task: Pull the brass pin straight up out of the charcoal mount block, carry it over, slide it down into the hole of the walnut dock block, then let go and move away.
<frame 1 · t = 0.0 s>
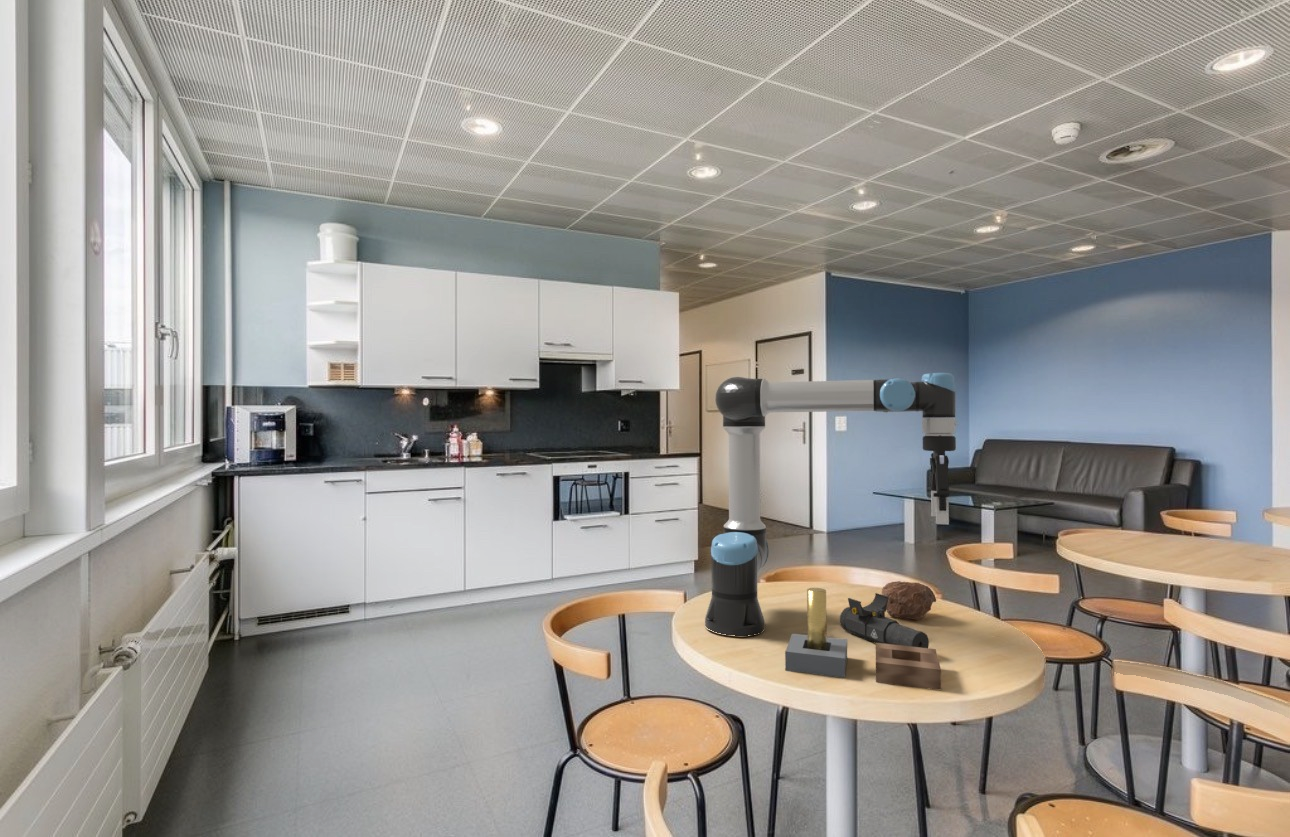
hand: (939, 520, 157), 28 cm above the table, tool pointing down, fingers open, 13 cm apart
laser sight: (880, 644, 150), on the table
decorative rock: (907, 618, 170), on the table
dock block: (906, 674, 131), on the table
brass pin: (816, 626, 137), in the mount block
mount block: (817, 663, 137), on the table
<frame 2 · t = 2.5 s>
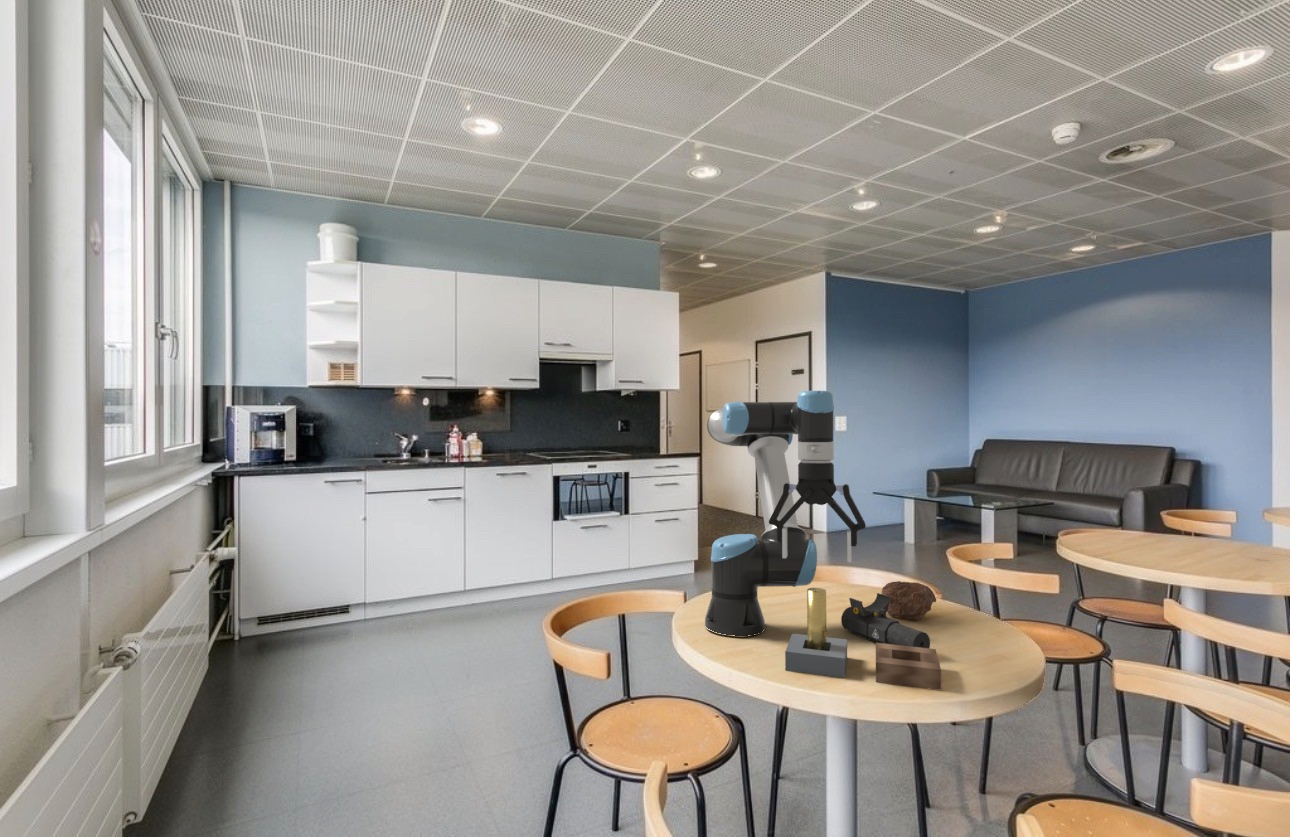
hand: (816, 559, 137), 23 cm above the table, tool pointing down, fingers open, 13 cm apart
nothing on the table moved.
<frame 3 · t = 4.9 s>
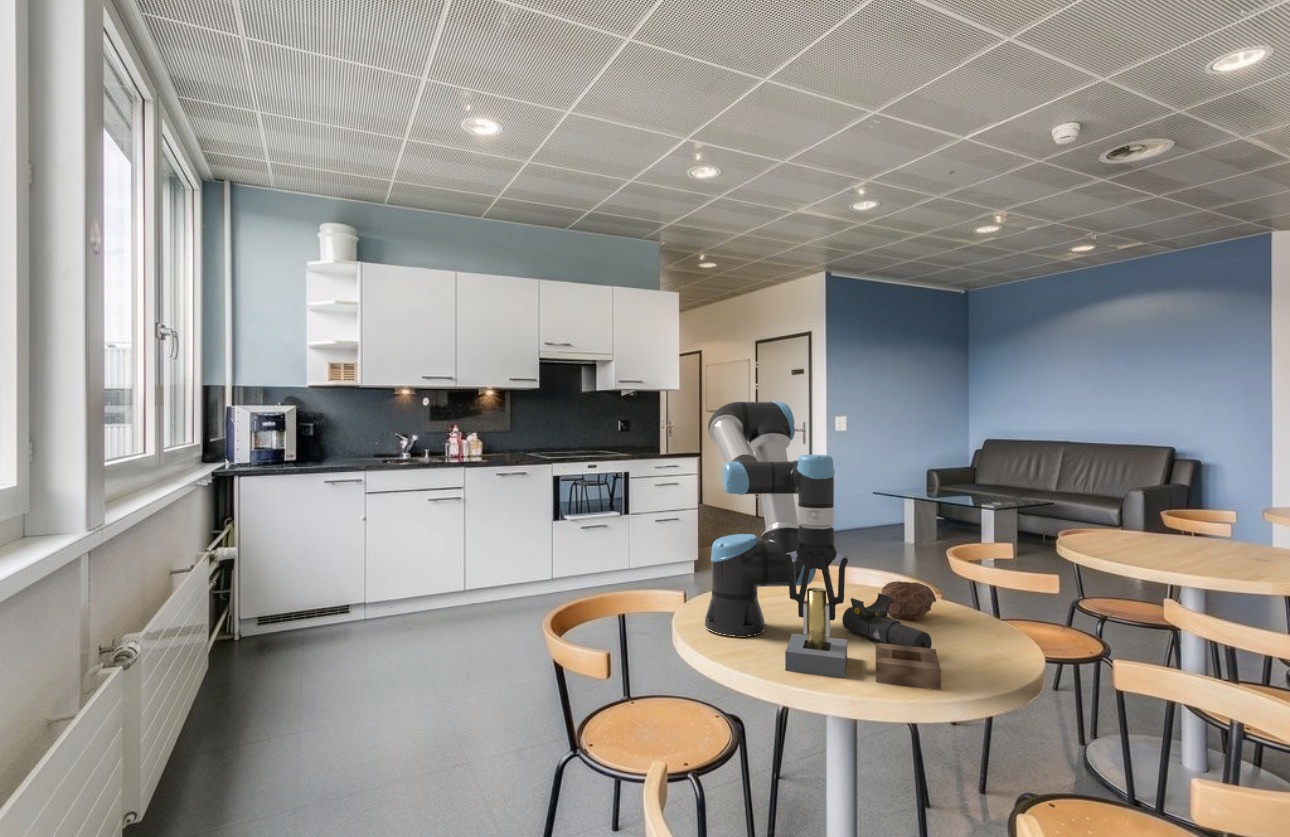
hand: (816, 633, 137), 7 cm above the table, tool pointing down, fingers closed on brass pin, 4 cm apart
brass pin: (816, 626, 137), in the mount block, touching gripper
everything else where it was.
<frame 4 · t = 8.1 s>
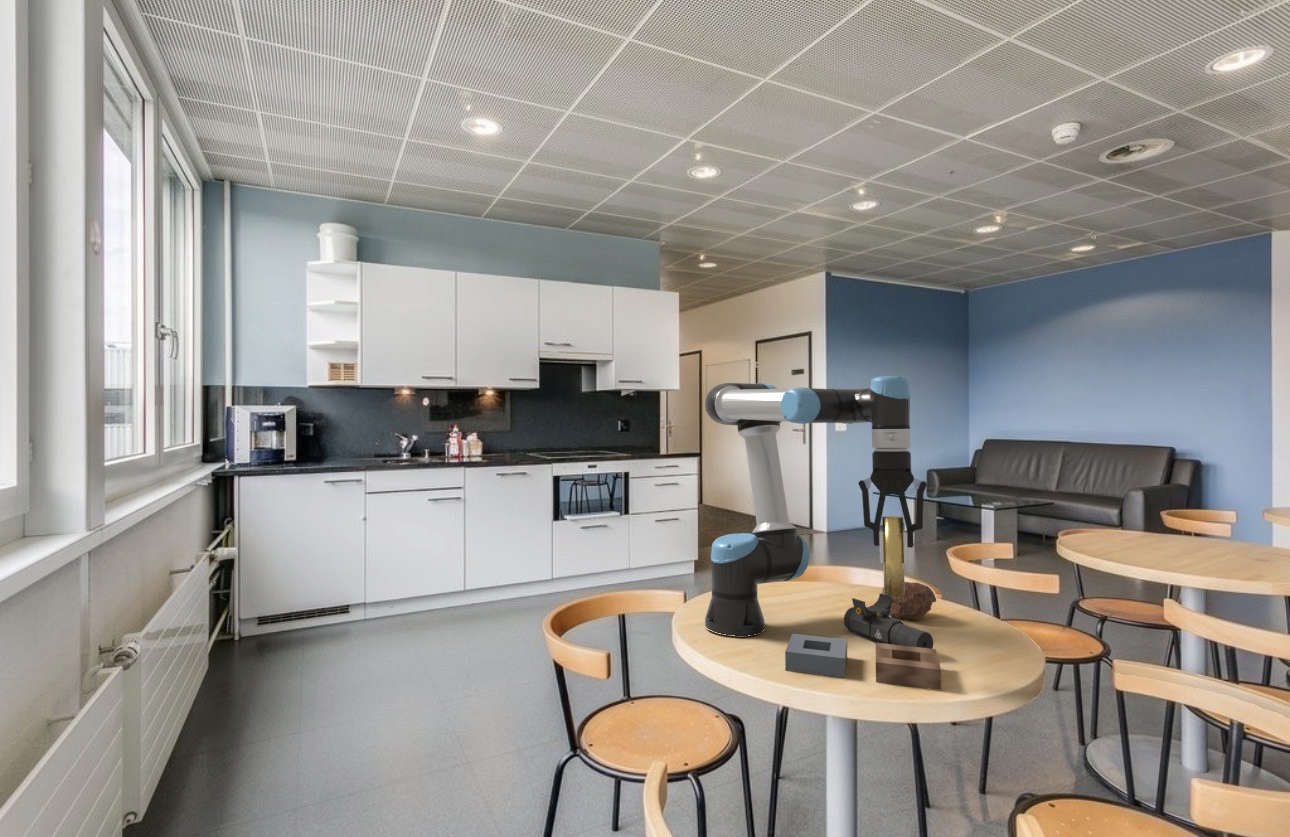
hand: (893, 562, 131), 23 cm above the table, tool pointing down, fingers closed on brass pin, 4 cm apart
brass pin: (893, 555, 131), point 25 cm above the table, touching gripper
everything else where it was.
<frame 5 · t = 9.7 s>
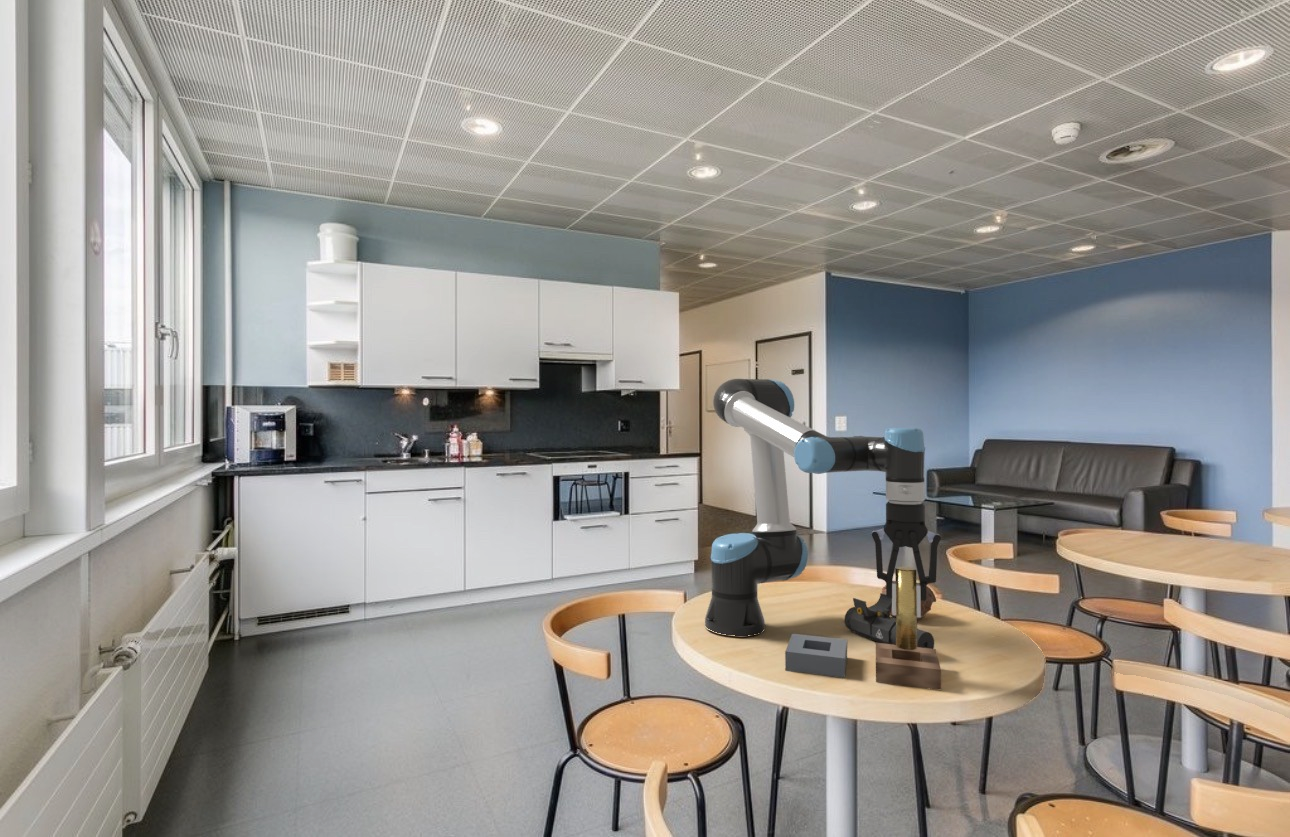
hand: (906, 614, 131), 13 cm above the table, tool pointing down, fingers closed on brass pin, 4 cm apart
brass pin: (906, 607, 131), point 14 cm above the table, touching gripper
when the fingers open (8 cm above the table, at t = 11.2 s): brass pin drops 1 cm, resting in dock block.
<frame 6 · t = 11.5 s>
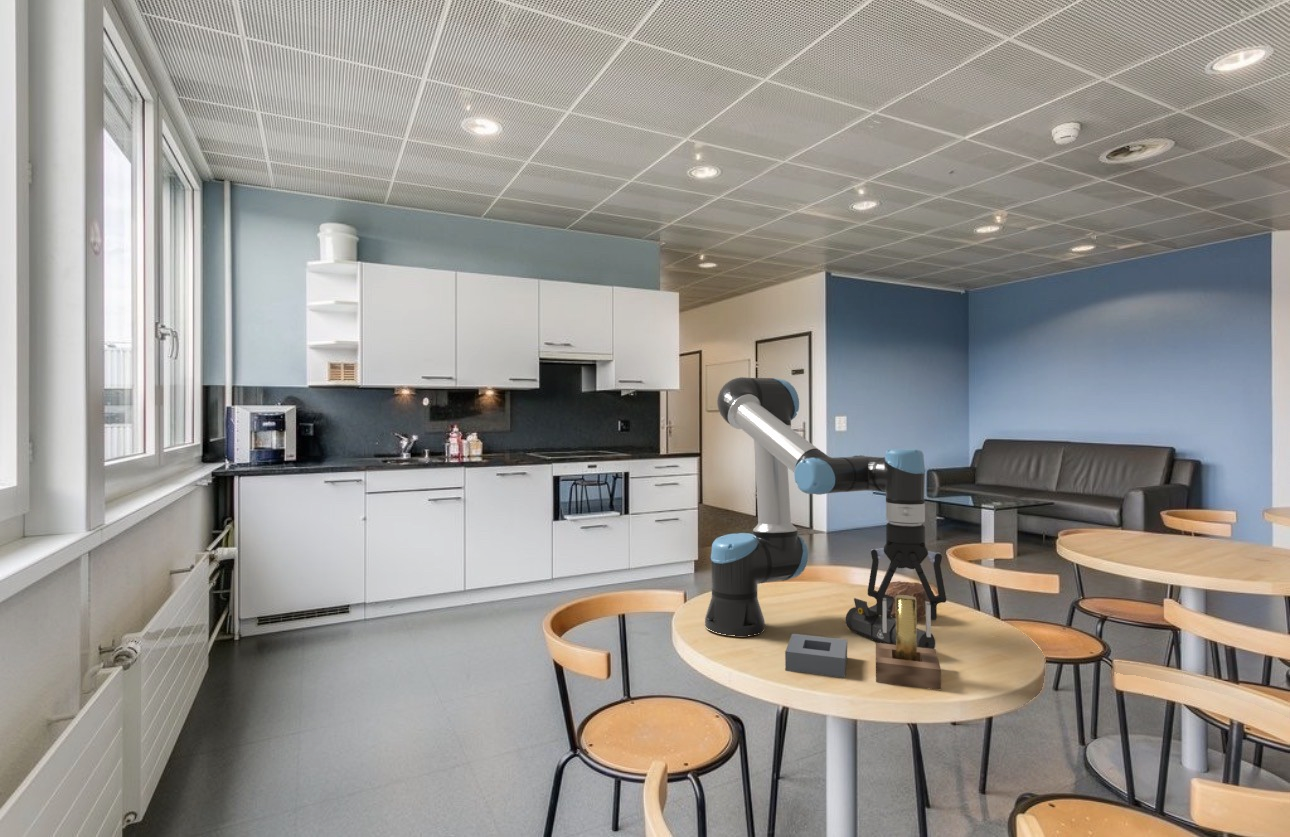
hand: (906, 632, 131), 9 cm above the table, tool pointing down, fingers open, 8 cm apart
brass pin: (906, 636, 131), in the dock block
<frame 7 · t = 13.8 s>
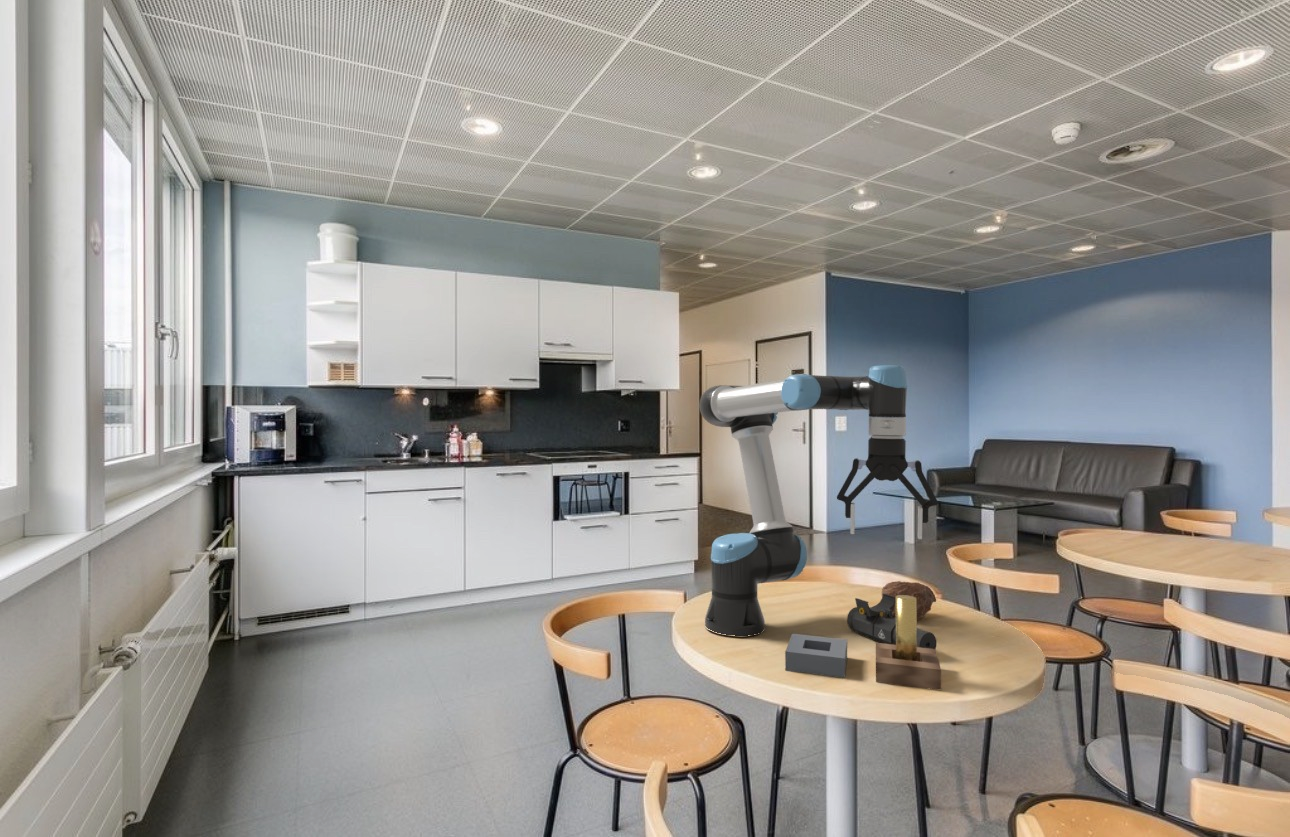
hand: (885, 535, 136), 28 cm above the table, tool pointing down, fingers open, 13 cm apart
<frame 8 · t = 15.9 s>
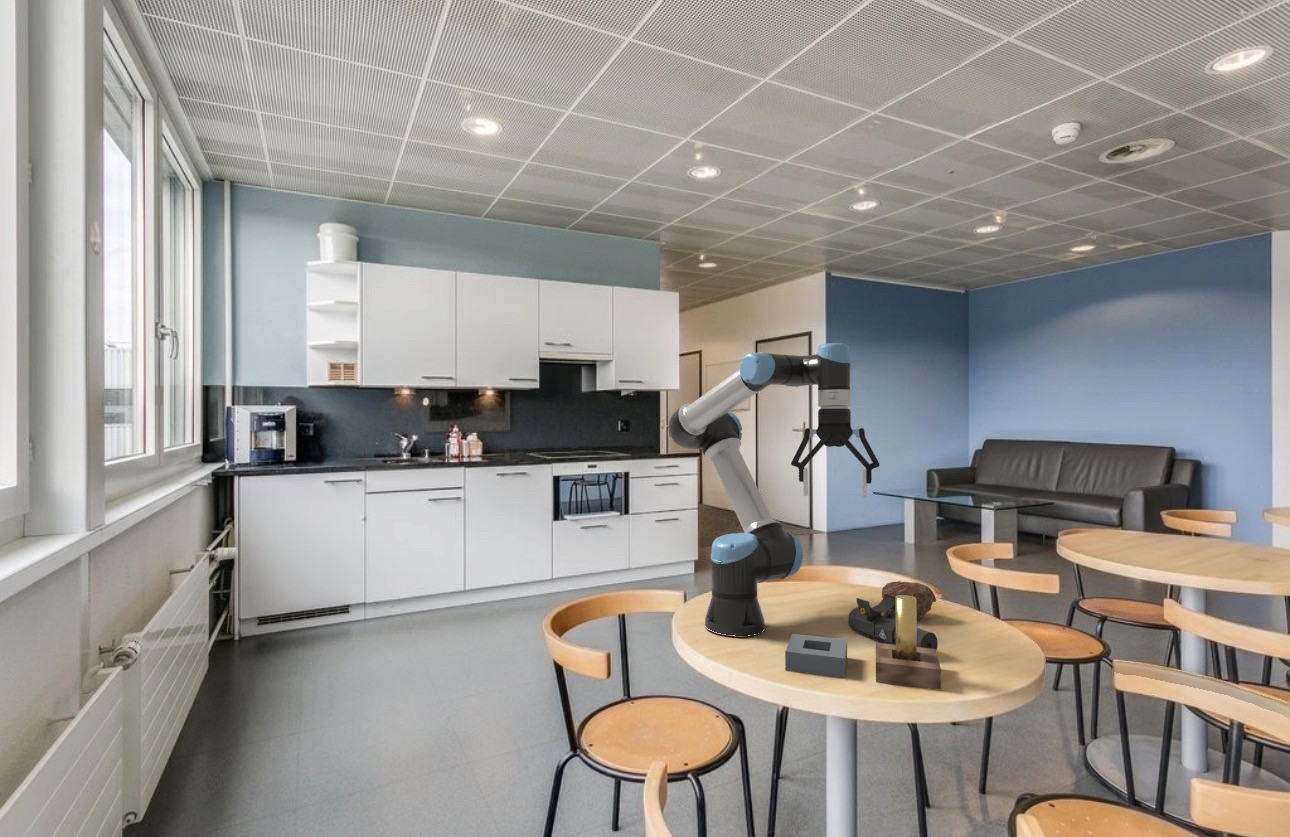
hand: (834, 496, 151), 35 cm above the table, tool pointing down, fingers open, 13 cm apart
at the end: brass pin 0.1 cm off-centre on the dock block, point 8.0 cm above the dock block's base; brass pin tilted 0°; the gripper is holding nothing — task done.
